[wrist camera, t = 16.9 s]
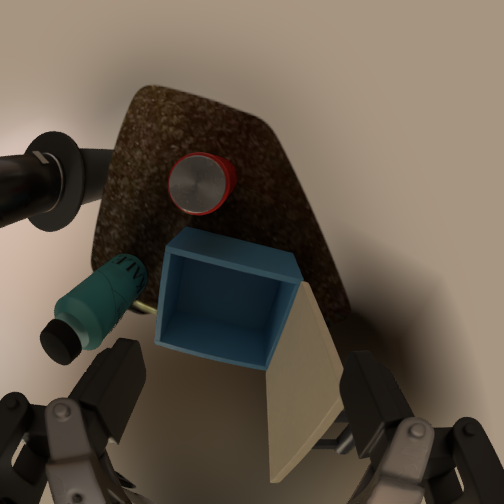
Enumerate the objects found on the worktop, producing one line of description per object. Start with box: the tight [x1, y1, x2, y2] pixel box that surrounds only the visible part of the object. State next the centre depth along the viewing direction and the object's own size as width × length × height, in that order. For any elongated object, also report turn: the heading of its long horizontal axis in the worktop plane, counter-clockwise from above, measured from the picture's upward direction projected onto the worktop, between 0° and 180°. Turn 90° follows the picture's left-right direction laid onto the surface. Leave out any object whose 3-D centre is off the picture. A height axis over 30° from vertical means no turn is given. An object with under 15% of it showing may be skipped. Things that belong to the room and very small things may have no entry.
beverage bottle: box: [40, 253, 147, 365], centre depth 27 cm, size 6×7×20 cm
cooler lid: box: [266, 281, 355, 483], centre depth 22 cm, size 15×13×6 cm
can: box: [168, 152, 237, 215], centre depth 28 cm, size 6×6×11 cm
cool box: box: [155, 226, 304, 371], centre depth 33 cm, size 14×13×9 cm
